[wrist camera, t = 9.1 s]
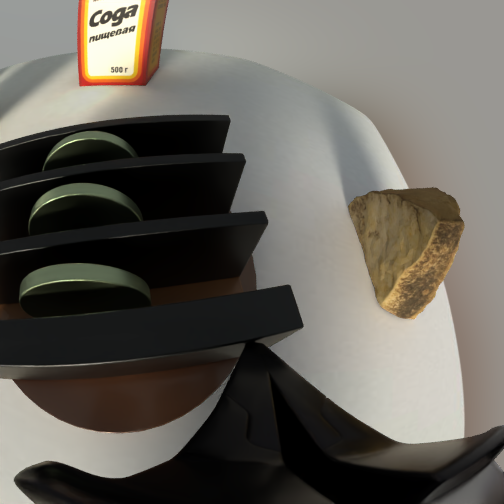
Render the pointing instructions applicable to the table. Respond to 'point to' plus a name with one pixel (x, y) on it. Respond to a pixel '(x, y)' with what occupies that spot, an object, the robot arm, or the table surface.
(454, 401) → the table surface
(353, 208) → the rock
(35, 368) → the dish rack
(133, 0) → the baking soda box
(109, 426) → the base
